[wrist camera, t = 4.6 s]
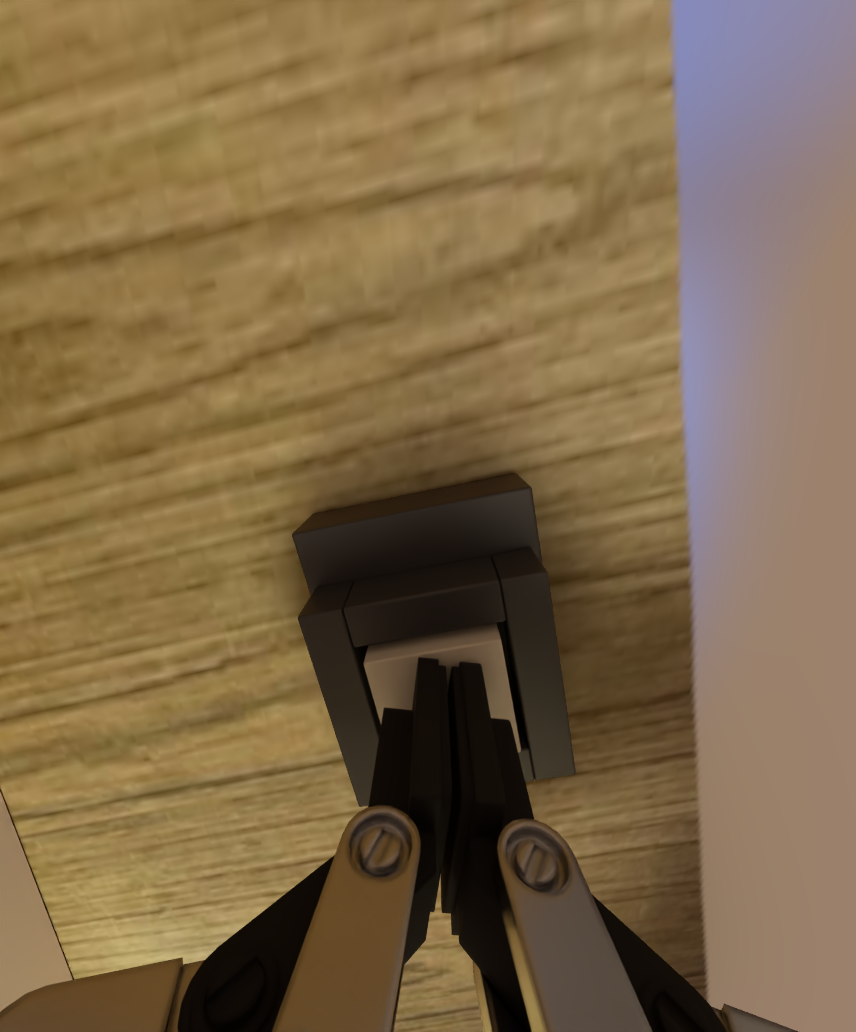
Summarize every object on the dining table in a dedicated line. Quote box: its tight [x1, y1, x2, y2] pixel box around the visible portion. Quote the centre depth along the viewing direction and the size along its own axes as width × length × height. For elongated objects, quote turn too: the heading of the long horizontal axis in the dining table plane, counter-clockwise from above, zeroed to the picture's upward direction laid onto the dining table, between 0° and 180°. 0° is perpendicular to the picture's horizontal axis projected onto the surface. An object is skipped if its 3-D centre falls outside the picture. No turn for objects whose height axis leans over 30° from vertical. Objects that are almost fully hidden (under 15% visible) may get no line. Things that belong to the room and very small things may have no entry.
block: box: [292, 474, 576, 807], centre depth 13 cm, size 10×7×4 cm
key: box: [364, 623, 521, 752], centre depth 12 cm, size 4×4×2 cm
